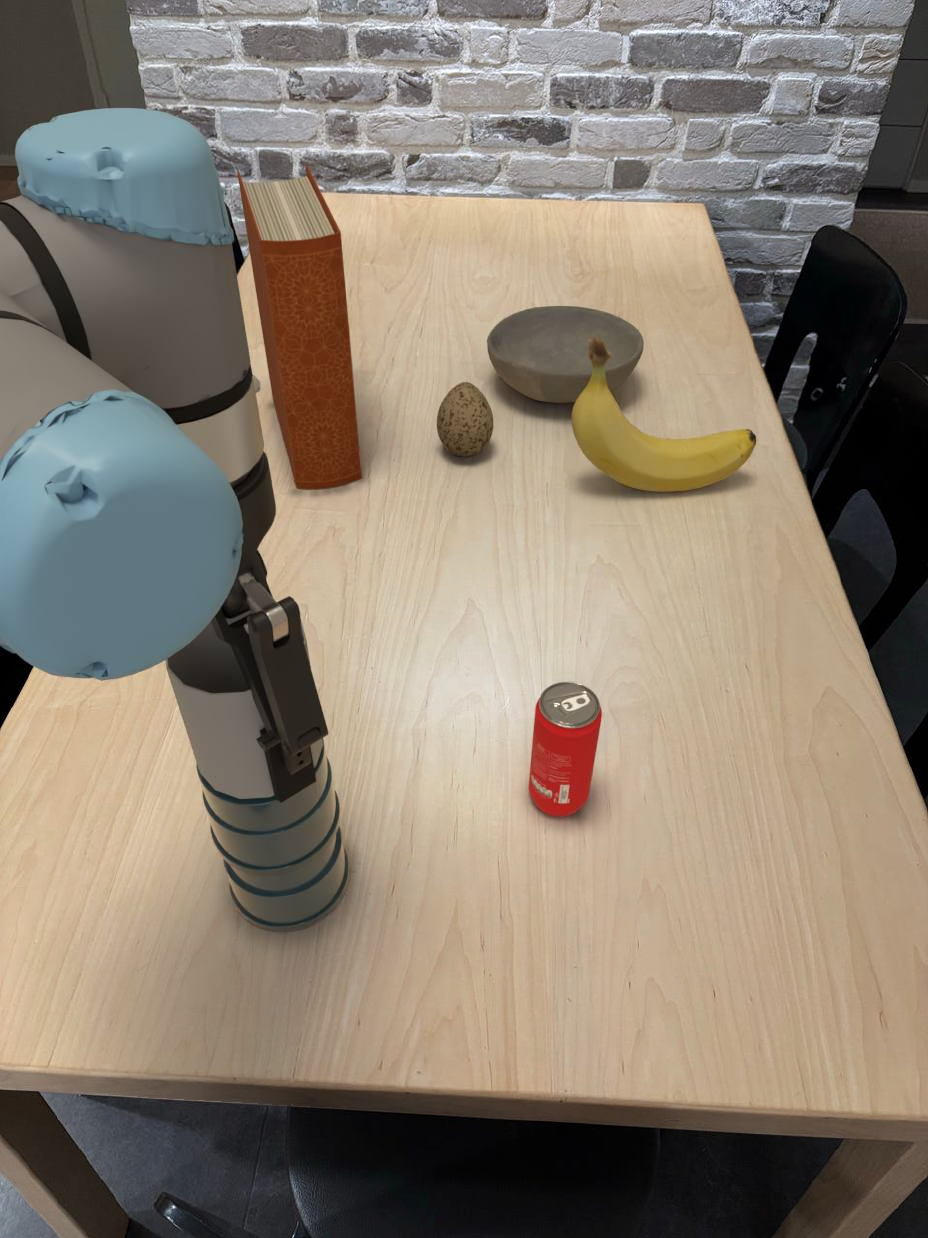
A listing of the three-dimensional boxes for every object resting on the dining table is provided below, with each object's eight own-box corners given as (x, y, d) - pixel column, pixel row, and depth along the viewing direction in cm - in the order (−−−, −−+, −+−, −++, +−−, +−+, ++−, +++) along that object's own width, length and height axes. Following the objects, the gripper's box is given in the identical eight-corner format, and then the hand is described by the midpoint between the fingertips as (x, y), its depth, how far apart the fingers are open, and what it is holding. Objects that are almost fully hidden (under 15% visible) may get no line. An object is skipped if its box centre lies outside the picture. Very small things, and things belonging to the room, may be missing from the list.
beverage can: (517, 783, 80) (524, 691, 71) (569, 763, 81) (582, 671, 73) (545, 829, 76) (556, 738, 68) (599, 808, 78) (615, 716, 70)
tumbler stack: (270, 956, 68) (234, 836, 57) (209, 870, 73) (165, 745, 62) (372, 884, 72) (357, 759, 61) (308, 808, 78) (283, 680, 67)
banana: (737, 467, 115) (775, 317, 101) (752, 494, 111) (794, 341, 97) (561, 477, 113) (575, 325, 100) (569, 505, 109) (585, 350, 95)
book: (272, 399, 127) (237, 170, 106) (331, 391, 128) (307, 164, 108) (297, 493, 111) (261, 244, 90) (363, 482, 112) (342, 235, 92)
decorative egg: (501, 461, 116) (504, 391, 109) (448, 473, 114) (448, 402, 107) (479, 433, 121) (481, 364, 114) (429, 444, 119) (427, 374, 112)
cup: (174, 744, 62) (138, 639, 55) (275, 683, 66) (254, 578, 59) (243, 821, 57) (213, 718, 50) (347, 751, 61) (333, 647, 55)
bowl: (544, 444, 119) (549, 389, 113) (457, 377, 131) (457, 325, 126) (666, 399, 127) (675, 346, 122) (573, 340, 140) (578, 290, 134)
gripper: (376, 532, 42) (398, 817, 57) (163, 359, 53) (229, 635, 69) (230, 603, 38) (296, 886, 54) (37, 401, 50) (137, 681, 66)
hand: (259, 745), depth 61 cm, fingers closed on cup, 8 cm apart
